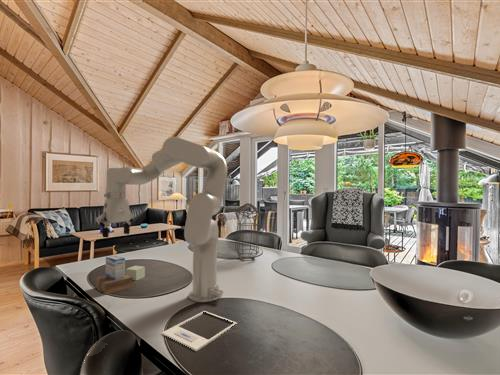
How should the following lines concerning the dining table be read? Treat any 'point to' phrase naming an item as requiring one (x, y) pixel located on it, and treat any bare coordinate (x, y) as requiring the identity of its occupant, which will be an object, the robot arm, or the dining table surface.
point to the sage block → (136, 272)
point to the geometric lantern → (247, 225)
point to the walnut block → (113, 284)
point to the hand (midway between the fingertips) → (116, 235)
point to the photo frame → (192, 334)
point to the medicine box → (115, 267)
